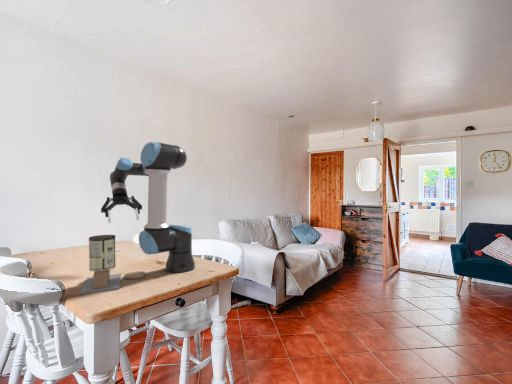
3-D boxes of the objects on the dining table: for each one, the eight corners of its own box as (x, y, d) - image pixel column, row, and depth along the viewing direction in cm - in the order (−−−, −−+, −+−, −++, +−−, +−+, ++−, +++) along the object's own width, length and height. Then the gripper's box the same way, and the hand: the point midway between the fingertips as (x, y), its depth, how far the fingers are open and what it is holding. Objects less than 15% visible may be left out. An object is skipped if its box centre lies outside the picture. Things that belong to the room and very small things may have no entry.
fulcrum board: (119, 288, 113) (119, 272, 113) (80, 294, 107) (79, 276, 107) (120, 275, 131) (120, 261, 131) (87, 279, 125) (87, 264, 125)
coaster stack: (149, 275, 133) (149, 271, 133) (138, 281, 124) (138, 277, 124) (132, 274, 134) (132, 270, 134) (120, 280, 125) (120, 276, 125)
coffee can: (97, 265, 124) (97, 234, 124) (119, 264, 124) (119, 234, 124) (83, 271, 113) (83, 238, 113) (108, 271, 114) (108, 238, 114)
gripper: (142, 195, 164) (148, 221, 151) (94, 197, 150) (97, 227, 138) (143, 186, 159) (149, 212, 147) (94, 188, 146) (96, 217, 133)
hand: (124, 219), depth 142 cm, fingers open, 13 cm apart
